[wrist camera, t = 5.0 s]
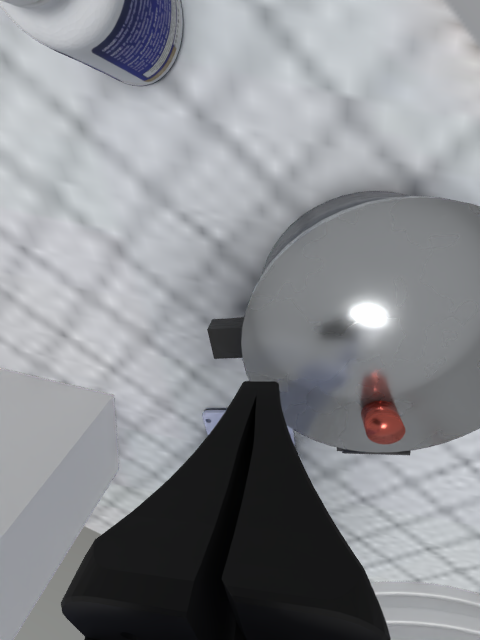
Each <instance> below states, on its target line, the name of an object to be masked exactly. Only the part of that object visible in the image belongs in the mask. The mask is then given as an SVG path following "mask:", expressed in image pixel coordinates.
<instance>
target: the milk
mask: <svg viewBox="0 0 480 640" xmlns="http://www.w3.org/2000/svg"><path fill="white" fill-rule="evenodd" d="M118 470H119V456H118V442H117V428H116V414H115V401H114V395H113V394H108V393H104V392H100V391H96V390H92V389H87V388H83V387H79V386H75V385H71V384H66V383H62V382H58V381H54V380H49V379H45V378H41V377H37V376H33V375H28V374H24V373H20V372H16V371H11V370H7V369H3V368H0V640H13V639H14V638H15V636H16V635H17V633H18V631H19V630H20V628H21V627H22V625H23V623H24V622H25V620H26V618H27V617H28V615H29V613H30V612H31V610H32V609H33V607H34V606H35V604H36V602H37V600H38V599H39V598H40V596H41V594H42V593H43V591H44V589H45V588H46V586H47V585H48V583H49V581H50V580H51V578H52V577H53V575H54V573H55V571H56V570H57V568H58V567H59V565H60V564H61V562H62V560H63V559H64V557H65V556H66V554H67V552H68V551H69V549H70V547H71V546H72V544H73V543H74V541H75V539H76V538H77V536H78V535H79V533H80V531H81V530H82V528H83V527H84V525H85V523H86V522H87V520H88V518H89V517H90V515H91V514H92V512H93V510H94V509H95V507H96V506H97V504H98V502H99V501H100V499H101V498H102V496H103V494H104V493H105V491H106V489H107V488H108V486H109V485H110V483H111V481H112V480H113V478H114V477H115V475H116V473H117V472H118Z"/></svg>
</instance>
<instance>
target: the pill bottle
mask: <svg viewBox="0 0 480 640" xmlns="http://www.w3.org/2000/svg"><path fill="white" fill-rule="evenodd" d="M0 6H1V7H2V9H3V10H4V11H5V13H6V14H7V15H8V16H9V17H10V18H11V20H12V21H13V22H14V23H15V24H16V25H17V26H18V27H19V28H20V29H22V30H23V31H24V32H25V33H26V34H28V35H29V36H30V37H32V38H33V39H35V40H36V41H38V42H40V43H41V44H43V45H45V46H47V47H49V48H51V49H53V50H55V51H57V52H59V53H61V54H64V55H66V56H68V57H70V58H72V59H75V60H77V61H79V62H82V63H84V64H86V65H88V66H90V67H92V68H94V69H96V70H98V71H100V72H102V73H104V74H106V75H108V76H111V77H113V78H115V79H117V80H119V81H121V82H124V83H126V84H130V85H136V86H144V85H149V84H152V83H154V82H156V81H158V80H159V79H160V78H162V77H163V76H164V75H165V74H166V73H167V72H168V71H169V69H170V68H171V66H172V65H173V63H174V61H175V59H176V57H177V54H178V51H179V48H180V44H181V39H182V28H183V17H182V8H181V2H180V0H0Z"/></svg>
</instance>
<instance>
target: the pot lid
mask: <svg viewBox="0 0 480 640" xmlns="http://www.w3.org/2000/svg"><path fill="white" fill-rule="evenodd" d="M241 347H242V357H243V362H244V366H245V370H246V373H247V376H248V378H249V381H276V382H277V383H279V390H280V401H281V407H282V411H283V415H284V418H285V421H286V424H287V426H289V427H290V428H292V429H294V430H295V431H297V432H299V433H300V434H302V435H304V436H307V437H309V438H311V439H313V440H315V441H318V442H321V443H324V444H327V445H330V446H334V447H338V448H342V453H350V454H385V455H410V451H411V450H416V449H422V448H427V447H431V446H435V445H439V444H442V443H446V442H448V441H451V440H454V439H457V438H459V437H462V436H464V435H466V434H469V433H471V432H473V431H475V430H477V429H479V428H480V206H477V205H474V204H469V203H465V202H460V201H455V200H450V199H445V198H440V197H426V196H405V197H392V198H386V199H381V200H376V201H371V202H366V203H363V204H360V205H357V206H354V207H351V208H348V209H345V210H342V211H340V212H338V213H336V214H334V215H331V216H329V217H327V218H325V219H323V220H321V221H320V222H318V223H316V224H315V225H313V226H312V227H310V228H308V229H307V230H305V231H304V232H302V233H301V234H300V235H299V236H297V237H296V238H295V239H294V240H292V241H291V242H290V243H289V244H288V245H286V246H285V247H284V249H283V250H282V251H281V252H280V253H279V254H278V255H277V256H276V257H275V258H274V259H273V260H272V261H271V263H270V264H269V266H268V267H267V268H266V270H265V271H264V272H263V274H262V275H261V277H260V279H259V281H258V283H257V285H256V286H255V288H254V290H253V293H252V295H251V298H250V301H249V304H248V306H247V309H246V313H245V317H244V322H243V327H242V339H241Z"/></svg>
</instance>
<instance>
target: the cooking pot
mask: <svg viewBox="0 0 480 640" xmlns="http://www.w3.org/2000/svg"><path fill="white" fill-rule="evenodd" d="M405 196H408V195H404V194H399V193H394V192H384V191H369V192H358V193H353V194H348V195H344V196H341V197H338V198H335V199H332V200H329V201H327V202H325V203H323V204H321V205H319V206H317V207H315V208H313V209H312V210H310V211H309V212H307V213H306V214H304V215H303V216H301V217H300V218H299V219H298V220H297V221H295V222H294V223H293V224H292V225H291V226H290V227H289V228H288V229H287V230H286V231H285V232H284V233H283V234H282V236H281V237H280V238H279V240H278V241H277V243H276V244H275V245H274V247H273V249H272V251H271V252H270V254H269V256H268V258H267V261H266V263H265V266H264V269H263V272H264V271H265V270H266V268H267V267H268V266H269V264H270V263H271V261H272V260H273V259H274V258H275V257H276V256H277V255H278V254H279V253H280V252H281V251H282V250H283V249H284V247H285V246H286V245H288V244H289V243H290V242H291V241H292V240H294V239H295V238H296V237H297V236H299V235H300V234H301V233H302V232H304V231H305V230H307V229H308V228H310V227H312V226H313V225H315V224H316V223H318V222H320V221H321V220H323V219H325V218H327V217H329V216H331V215H334V214H336V213H338V212H340V211H342V210H345V209H348V208H351V207H354V206H357V205H360V204H363V203H366V202H371V201H376V200H381V199H386V198H392V197H405ZM263 272H262V274H263ZM243 322H244V318H228V319H213V320H212V321H211V323H210V325H209V327H208V329H207V330H208V334H209V338H210V343H211V347H212V351H213V356H214V359H219V358H243V357H242V347H241V339H242V327H243ZM337 451H342V448H338V447H337Z"/></svg>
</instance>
